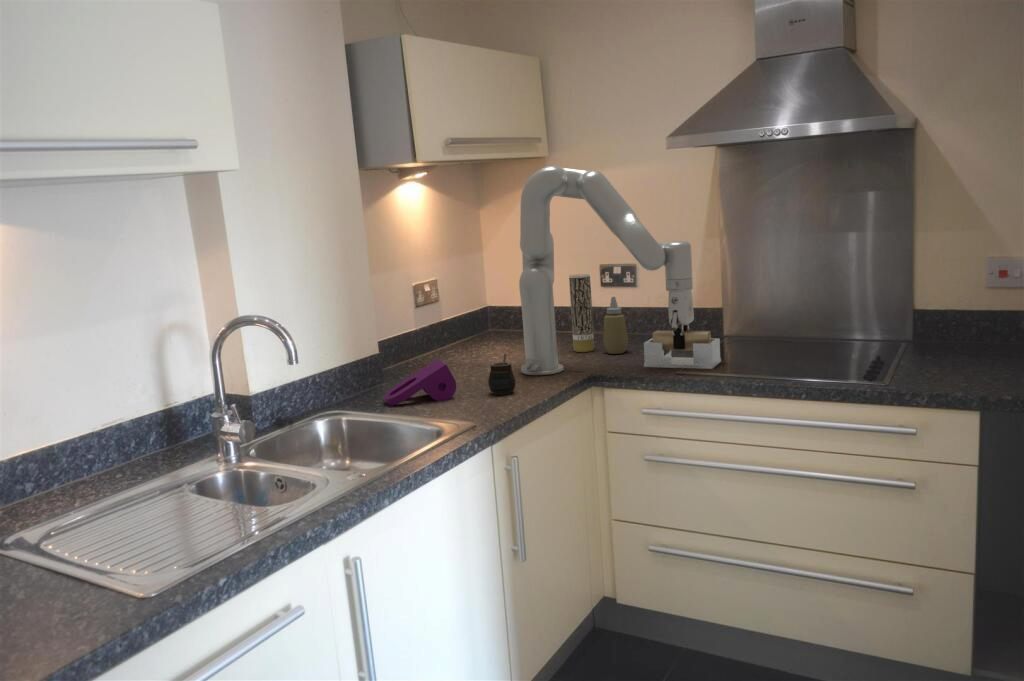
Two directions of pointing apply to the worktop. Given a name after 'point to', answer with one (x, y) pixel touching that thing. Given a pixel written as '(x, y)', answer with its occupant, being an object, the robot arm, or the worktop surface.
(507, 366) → the mate gourd
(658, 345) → the bracket
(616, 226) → the robot arm
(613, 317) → the squeeze bottle
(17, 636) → the worktop surface
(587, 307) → the paper tube
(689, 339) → the rail
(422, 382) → the mounting bracket
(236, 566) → the worktop surface
